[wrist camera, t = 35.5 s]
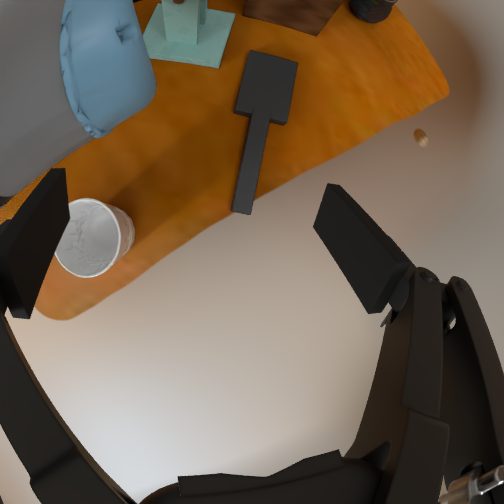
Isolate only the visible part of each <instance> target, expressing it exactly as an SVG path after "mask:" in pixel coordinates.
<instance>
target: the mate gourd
mask: <svg viewBox="0 0 504 504" xmlns="http://www.w3.org/2000/svg"><path fill="white" fill-rule="evenodd" d="M396 2H397V0H350V6H351V9H352V11H353V12H354V13H355V15H356V16H358V17H359V18H360V19H362V20H365V21H367V22H371V23H377V22H380V21H382V20H384V19H386V18H387V17H388V16H389V14H390V12H391V10H392V6H393V5H394V4H395V3H396Z"/></svg>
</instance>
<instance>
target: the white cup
mask: <svg viewBox="0 0 504 504" xmlns="http://www.w3.org/2000/svg"><path fill="white" fill-rule="evenodd" d="M69 212H70V221H69V223H68V225H67V227H66V229H65V231H64V233H63V235H62V237H61V240H60V242H59V244H58V246H57V249H56V251H55V255H56V257H57V259H58V261H59V262H60V264H61V265H62V266H63V267H64V268H65V269H66V270H67V271H69V272H70V273H72V274H74V275H76V276H79V277H86V278H88V277H95V276H98V275H100V274H102V273H104V272H105V271H107V270H108V269H109V268H110V267H112V266H113V265H114V264H116V263H117V262H118V261H119V260H120V259H121V258H123V257H124V255H125V254H126V253H128V252H129V250H130V248H131V246H132V245H133V243H134V238H135V228H134V225H133V222H132V219H131V218H130V217H129V216H128V215H127V214H126V213H125V212H124V211H123V210H121V209H119V208H117V207H115V206H113V205H111V204H107V203H105V202H101V201H98V200H96V199H91V198H81V199H77V200H74V201H72V202H71V203H69Z"/></svg>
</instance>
